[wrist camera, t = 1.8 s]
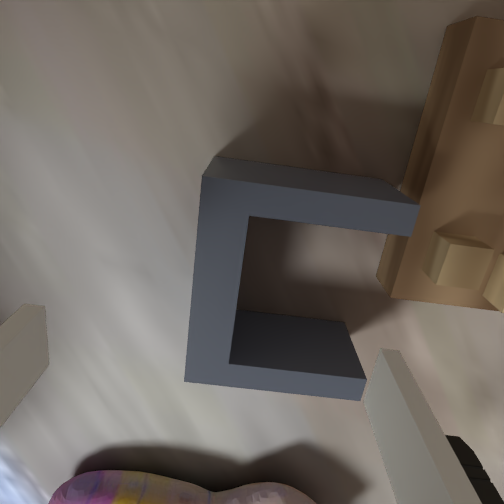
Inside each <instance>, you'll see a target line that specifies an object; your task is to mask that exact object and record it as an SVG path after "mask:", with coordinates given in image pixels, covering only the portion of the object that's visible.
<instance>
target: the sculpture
mask: <svg viewBox="0 0 504 504" xmlns="http://www.w3.org/2000/svg"><path fill="white" fill-rule="evenodd" d="M49 504H317V503H315V502H314V501H313V500H312V499H311V498H310V497H308V496H307V495H306V494H304V493H302V492H301V491H299V490H297V489H295V488H293V487H291V486H289V485H286V484H281V483H275V482H261V483H252V484H247V485H243V486H240V487H237V488H234V489H231V490H225V491H221V492H211V491H209V490H206V489H204V488H202V487H200V486H198V485H195V484H192V483H189V482H185V481H181V480H177V479H172V478H169V477H165V476H160V475H156V474H152V473H146V472H139V471H123V470H100V471H92V472H86V473H83V474H80V475H78V476H76V477H74V478H72V479H70V480H68V481H67V482H65V483H64V484H62V485H61V486H60V487H59V488H58V489H57V490H56V491H55V492H54V494H53V496H52V498H51V500H50V501H49Z"/></svg>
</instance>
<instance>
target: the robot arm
mask: <svg viewBox="0 0 504 504" xmlns="http://www.w3.org/2000/svg"><path fill="white" fill-rule="evenodd" d="M48 365H49V353H48V340H47V327H46V314H45V306H38V305H30V304H24V305H23V306H22V307H21V308H19V309H18V310H17V311H16V312H15V313H14V314H13V315H12V316H11V317H9V318H8V319H7V320H6V321H5V322H4V323H3V324H2V325H1V326H0V428H1V426H2V425H3V424H4V423H5V421H6V420H7V419H8V417H9V416H10V415H11V413H12V412H13V411H14V410H15V408H16V407H17V406H18V404H19V403H20V402H21V400H22V399H23V398H24V397H25V395H26V394H27V393H28V391H29V390H30V389H31V388H32V386H33V385H34V384H35V382H36V381H37V380H38V378H39V377H40V376H41V375H42V373H43V372H44V371H45V369H46V368H47V367H48ZM364 405H365V408H366V411H367V414H368V417H369V420H370V423H371V426H372V429H373V432H374V435H375V438H376V441H377V444H378V447H379V450H380V453H381V456H382V459H383V462H384V465H385V468H386V471H387V474H388V477H389V480H390V483H391V486H392V489H393V492H394V495H395V498H396V501H397V504H504V502H503V500H502V498H501V497H500V495H499V493H498V491H497V490H496V488H495V486H494V485H493V483H491V482H490V478H489V476H488V475H487V473H486V471H485V470H483V466H482V465H481V463H480V461H479V460H478V458H477V456H476V455H475V453H474V451H473V450H472V449H471V448H470V447H469V446H468V445H467V444H466V443H465V442H464V441H463V440H462V439H461V438H460V437H457V436H448V435H445V434H444V432H443V431H442V429H441V427H440V425H439V423H438V421H437V419H436V418H435V416H434V414H433V412H432V410H431V408H430V406H429V405H428V403H427V401H426V399H425V397H424V395H423V394H422V392H421V390H420V388H419V386H418V384H417V382H416V381H415V379H414V377H413V375H412V373H411V371H410V370H409V368H408V366H407V364H406V362H405V360H404V358H403V357H402V355H401V353H400V351H398V350H390V349H382V348H380V351H379V354H378V357H377V360H376V364H375V367H374V370H373V373H372V376H371V379H370V383H369V386H368V389H367V392H366V395H365V398H364Z"/></svg>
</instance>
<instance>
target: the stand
mask: <svg viewBox="0 0 504 504" xmlns="http://www.w3.org/2000/svg"><path fill="white" fill-rule="evenodd" d="M400 192H402V193H403V194H404V195H406V196H407V197H409V198H410V199H412V200H413V201H415V202H416V203H418V204H419V205H421V206H420V210H419V213H418V216H417V219H416V223H415V226H414V229H413V232H412V235H411V237H408V236H400V235H393V234H388V236H387V239H386V243H385V246H384V250H383V253H382V257H381V260H380V264H379V267H378V271H377V274H376V277H377V279H378V280H379V282H380V283H381V284H382V286H383V287H384V289H385V290H386V292H387V293H388V295H389V296H390V298H397V299H405V300H413V301H421V302H429V303H437V304H445V305H454V306H462V307H470V308H478V309H486V310H494V311H500V312H501V313H504V20H499V19H493V18H486V17H480V16H475V17H472V18H470V19H467V20H464V21H461V22H458V23H455V24H452V25H449V26H447V28H446V32H445V35H444V39H443V42H442V46H441V50H440V53H439V57H438V60H437V64H436V67H435V71H434V74H433V78H432V81H431V85H430V88H429V92H428V95H427V99H426V102H425V106H424V109H423V113H422V116H421V120H420V123H419V127H418V130H417V134H416V137H415V141H414V144H413V148H412V151H411V155H410V158H409V162H408V165H407V169H406V172H405V176H404V179H403V183H402V187H401V190H400Z"/></svg>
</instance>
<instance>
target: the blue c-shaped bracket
mask: <svg viewBox="0 0 504 504" xmlns="http://www.w3.org/2000/svg"><path fill="white" fill-rule="evenodd" d="M420 206H421V205H419V204H418V203H416V202H415V201H413V200H412V199H410V198H409V197H407V196H406V195H404V194H403V193H402V192H400V191H399V190H397V189H396V188H394V187H393V186H391V185H390V184H388V183H387V182H385V181H384V180H382V179H376V178H369V177H361V176H354V175H347V174H340V173H333V172H325V171H318V170H311V169H304V168H296V167H289V166H282V165H275V164H268V163H260V162H253V161H246V160H239V159H231V158H224V157H217V156H214V157H213V159H212V161H211V162H210V164H209V165H208V167H207V169H206V170H205V172H204V174H203V175H202V183H201V194H200V206H199V217H198V229H197V240H196V251H195V263H194V274H193V286H192V297H191V309H190V320H189V332H188V343H187V355H186V366H185V377H184V382H192V383H201V384H210V385H219V386H228V387H237V388H246V389H256V390H265V391H274V392H283V393H292V394H301V395H310V396H319V397H328V398H337V399H346V400H355V401H360V400H361V397H362V394H363V390H364V387H365V384H366V381H367V379H366V376H365V373H364V371H363V368H362V366H361V363H360V361H359V358H358V356H357V353H356V351H355V348H354V346H353V343H352V341H351V338H350V335H349V333H348V330H347V328H346V325H345V323H344V322H336V321H328V320H320V319H311V318H303V317H295V316H286V315H278V314H270V313H261V312H253V311H245V310H236V306H237V299H238V292H239V285H240V278H241V270H242V263H243V256H244V249H245V241H246V234H247V227H248V220H249V216H256V217H263V218H271V219H279V220H286V221H294V222H301V223H309V224H317V225H324V226H332V227H339V228H347V229H355V230H362V231H370V232H377V233H385V234H393V235H400V236H408V237H411V235H412V232H413V229H414V226H415V223H416V219H417V216H418V213H419V210H420Z"/></svg>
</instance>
